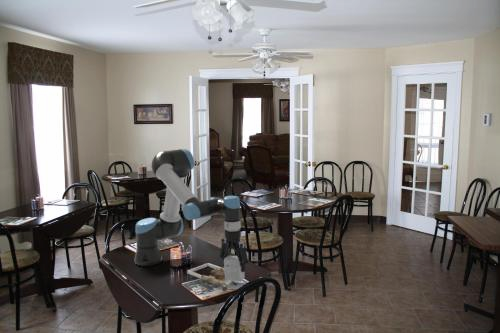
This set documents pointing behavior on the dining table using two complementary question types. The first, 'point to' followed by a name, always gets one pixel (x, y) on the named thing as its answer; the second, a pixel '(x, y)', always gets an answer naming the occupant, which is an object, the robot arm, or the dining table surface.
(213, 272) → the chip
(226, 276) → the small box
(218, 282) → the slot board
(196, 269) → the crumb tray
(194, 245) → the dining table surface
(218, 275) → the chip
